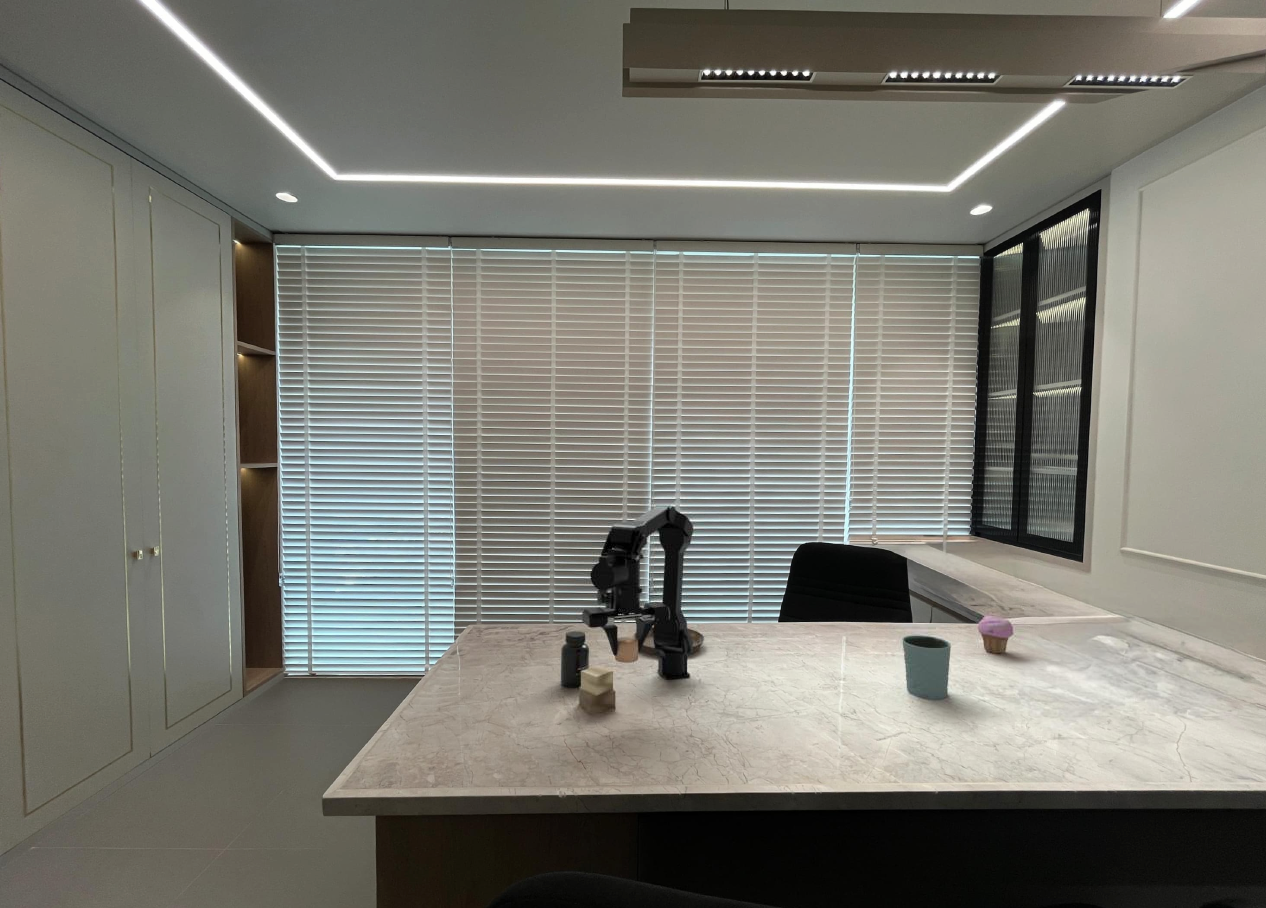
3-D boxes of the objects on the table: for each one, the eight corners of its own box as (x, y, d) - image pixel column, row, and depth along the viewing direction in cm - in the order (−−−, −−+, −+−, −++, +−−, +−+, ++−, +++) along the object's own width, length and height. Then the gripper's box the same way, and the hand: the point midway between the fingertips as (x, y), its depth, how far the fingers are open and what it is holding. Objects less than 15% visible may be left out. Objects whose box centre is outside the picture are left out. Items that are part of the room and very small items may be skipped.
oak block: (597, 682, 134) (597, 665, 134) (613, 688, 130) (613, 670, 130) (581, 689, 130) (581, 670, 130) (596, 695, 127) (596, 676, 127)
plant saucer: (708, 659, 162) (708, 647, 162) (632, 659, 162) (632, 646, 162) (700, 636, 182) (700, 626, 182) (633, 636, 183) (633, 625, 183)
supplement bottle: (584, 689, 140) (584, 638, 140) (556, 687, 141) (557, 636, 141) (592, 678, 146) (592, 630, 147) (565, 676, 148) (566, 628, 148)
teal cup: (956, 692, 139) (956, 641, 139) (943, 705, 131) (943, 651, 131) (910, 681, 146) (910, 632, 146) (896, 692, 138) (896, 641, 138)
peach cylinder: (632, 653, 132) (632, 635, 132) (641, 660, 127) (641, 642, 127) (611, 656, 130) (611, 638, 130) (620, 663, 125) (620, 644, 125)
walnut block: (603, 699, 134) (603, 681, 134) (615, 709, 129) (615, 690, 129) (579, 704, 131) (579, 686, 131) (590, 715, 126) (590, 696, 126)
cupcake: (979, 644, 175) (979, 610, 175) (1014, 650, 170) (1014, 615, 170) (976, 652, 167) (976, 617, 168) (1012, 658, 162) (1012, 622, 162)
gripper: (650, 572, 140) (650, 638, 140) (574, 578, 133) (574, 647, 132) (671, 581, 129) (671, 652, 129) (590, 588, 122) (590, 663, 122)
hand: (626, 653), depth 129 cm, fingers closed on peach cylinder, 5 cm apart
